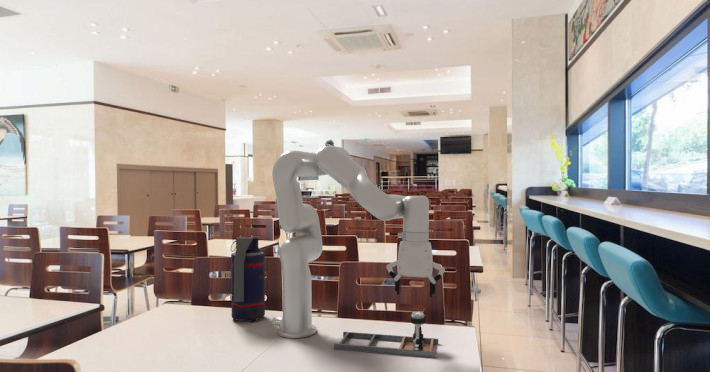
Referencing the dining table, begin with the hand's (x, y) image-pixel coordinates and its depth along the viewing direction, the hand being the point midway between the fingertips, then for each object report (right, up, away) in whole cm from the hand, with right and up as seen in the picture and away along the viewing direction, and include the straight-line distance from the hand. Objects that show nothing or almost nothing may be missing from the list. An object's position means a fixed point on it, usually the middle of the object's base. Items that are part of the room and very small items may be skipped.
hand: (414, 295), depth 129 cm
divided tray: (-8, -16, +2) cm, 18 cm away
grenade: (-57, -17, +29) cm, 66 cm away
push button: (+1, -16, 0) cm, 16 cm away
